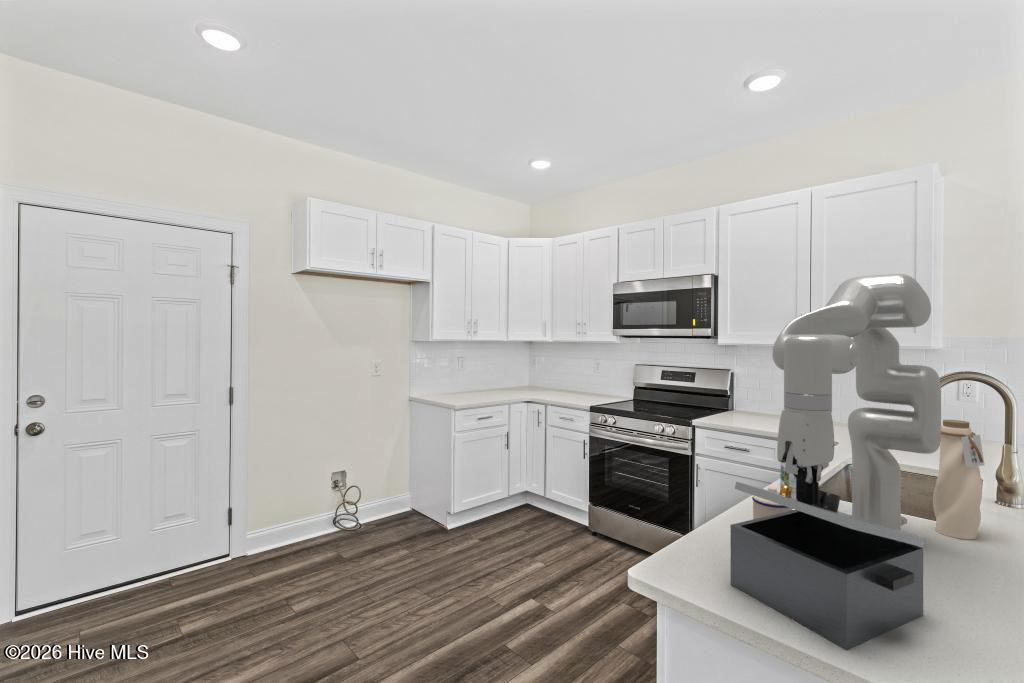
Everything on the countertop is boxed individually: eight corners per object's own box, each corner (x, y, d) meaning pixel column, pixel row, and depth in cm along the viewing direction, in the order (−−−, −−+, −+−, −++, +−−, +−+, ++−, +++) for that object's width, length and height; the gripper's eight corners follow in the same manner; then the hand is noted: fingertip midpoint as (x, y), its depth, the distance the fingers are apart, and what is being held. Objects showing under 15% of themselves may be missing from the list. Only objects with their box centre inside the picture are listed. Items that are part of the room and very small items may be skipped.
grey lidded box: (792, 557, 107) (792, 504, 107) (939, 622, 82) (940, 553, 82) (720, 579, 98) (720, 520, 97) (863, 659, 73) (863, 581, 73)
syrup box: (779, 502, 142) (779, 454, 141) (801, 504, 140) (801, 455, 140) (784, 509, 136) (784, 458, 136) (808, 511, 134) (808, 460, 134)
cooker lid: (802, 507, 104) (807, 486, 105) (923, 547, 84) (928, 521, 85) (734, 488, 96) (739, 466, 96) (851, 528, 76) (856, 500, 76)
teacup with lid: (779, 545, 113) (779, 496, 113) (744, 531, 121) (744, 485, 121) (808, 534, 119) (808, 487, 119) (772, 522, 127) (772, 478, 127)
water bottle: (997, 540, 115) (997, 424, 115) (971, 545, 112) (972, 426, 112) (947, 524, 125) (948, 417, 125) (923, 528, 122) (923, 419, 122)
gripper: (813, 398, 94) (813, 490, 95) (761, 402, 88) (761, 501, 88) (853, 402, 88) (853, 502, 88) (800, 408, 81) (800, 515, 82)
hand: (807, 501), depth 88 cm, fingers closed
